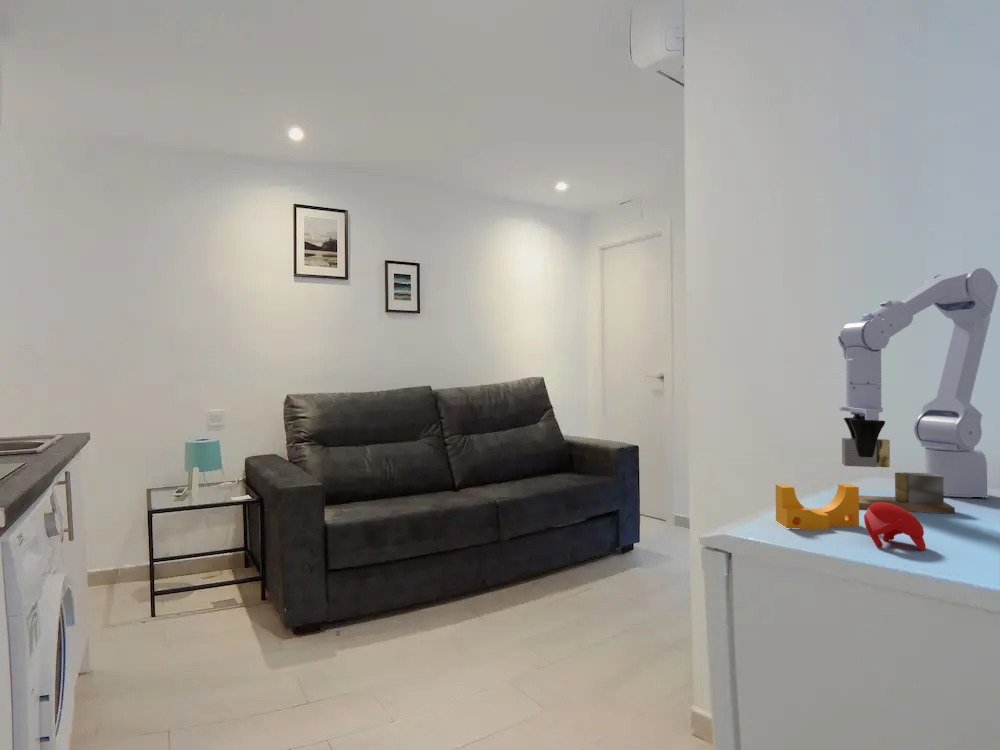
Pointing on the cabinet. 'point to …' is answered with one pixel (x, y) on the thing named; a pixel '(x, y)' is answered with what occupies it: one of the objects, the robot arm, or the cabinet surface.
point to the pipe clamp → (818, 509)
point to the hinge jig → (914, 494)
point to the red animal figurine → (892, 524)
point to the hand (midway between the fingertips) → (863, 455)
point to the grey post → (853, 459)
